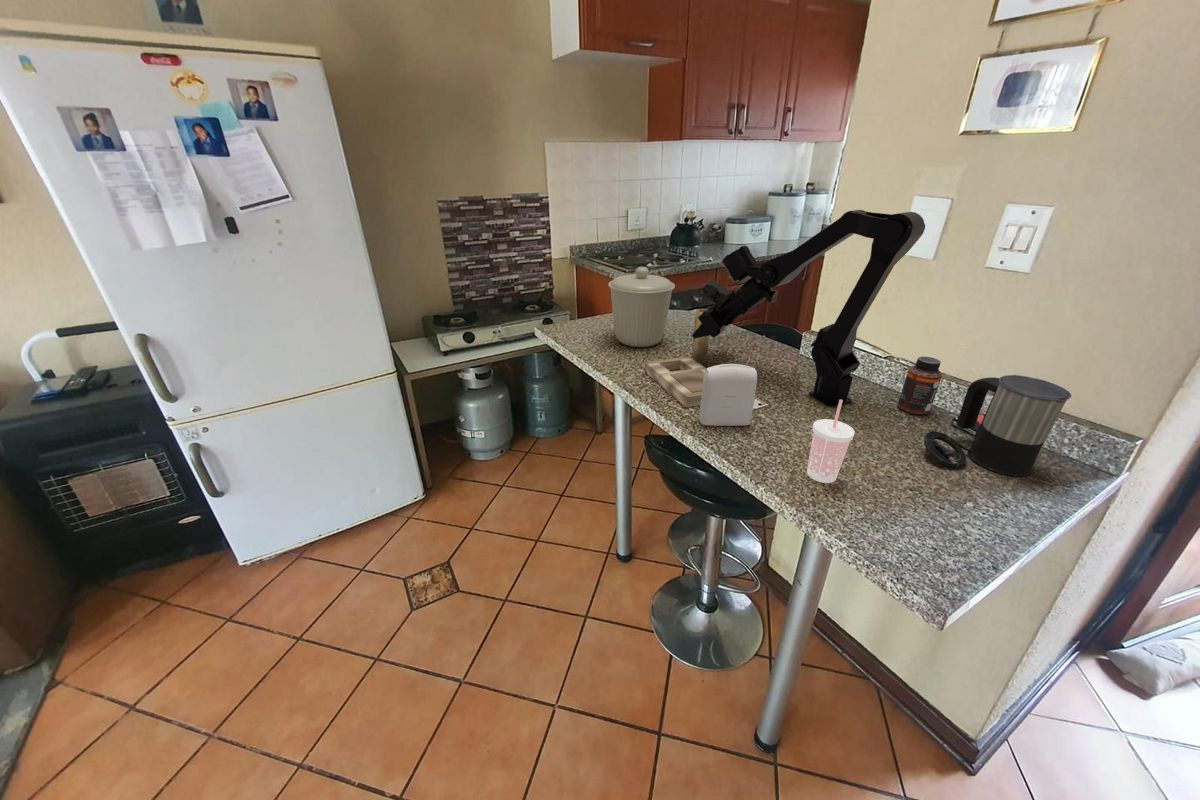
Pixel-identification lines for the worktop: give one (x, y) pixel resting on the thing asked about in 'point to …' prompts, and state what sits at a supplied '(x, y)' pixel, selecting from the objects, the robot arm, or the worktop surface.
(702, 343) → the cylinder
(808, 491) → the worktop surface
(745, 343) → the worktop surface
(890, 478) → the worktop surface
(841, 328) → the robot arm
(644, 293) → the canister
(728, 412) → the photo printer
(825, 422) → the beverage cup
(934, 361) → the supplement bottle
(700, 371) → the jig plate
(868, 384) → the worktop surface
